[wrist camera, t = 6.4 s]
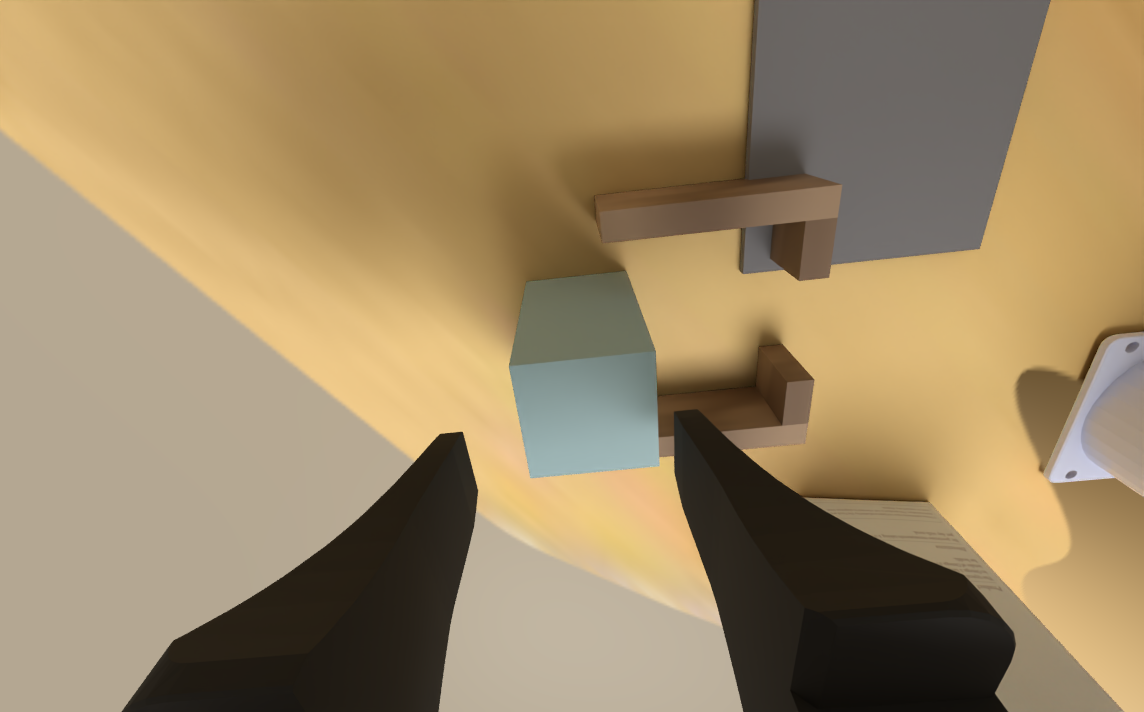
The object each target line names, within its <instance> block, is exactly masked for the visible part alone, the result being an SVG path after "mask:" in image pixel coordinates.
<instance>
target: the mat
mask: <svg viewBox="0 0 1144 712" xmlns="http://www.w3.org/2000/svg"><path fill="white" fill-rule="evenodd" d="M1049 4H1050V0H755V3H754V22H753V40H752V58H751V76H750V94H749V113H748V131H747V149H746V167H745V179H747V180H753V179H762V178H771V177H780V176H788V175H797V174H808V175H812V176H815V177H818V178H822V179H825V180H829V181H832V182H835V183H839V184H842V191H841V198H840V205H839V212H838V219H837V226H836V233H835V240H834V247H833V254H832V261H831V265H833V264H842V263H852V262H861V261H870V260H880V259H889V258H899V257H908V256H917V255H927V254H936V253H945V252H955V251H964V250H974V249H980V246H981V242H982V239H983V235H984V232H985V228H986V225H987V221H988V218H989V214H990V211H991V207H992V204H993V200H994V197H995V193H996V190H997V186H998V183H999V179H1000V176H1001V172H1002V169H1003V165H1004V162H1005V158H1006V155H1007V151H1008V148H1009V144H1010V141H1011V137H1012V134H1013V130H1014V127H1015V123H1016V120H1017V116H1018V113H1019V109H1020V106H1021V102H1022V99H1023V95H1024V91H1025V88H1026V84H1027V81H1028V77H1029V74H1030V70H1031V67H1032V63H1033V60H1034V56H1035V53H1036V49H1037V46H1038V42H1039V39H1040V35H1041V32H1042V28H1043V25H1044V21H1045V18H1046V14H1047V11H1048V7H1049ZM772 229H773V225H765V226H756V227H747V228H742V240H741V258H740V272H741V273H743V274H748V273H758V272H767V271H776V270H784V269H783V268H781V267H780V266H779V265H777V264H776V263H775V262H774V261H772V260H771V259H770V253H771V241H772Z"/></svg>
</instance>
